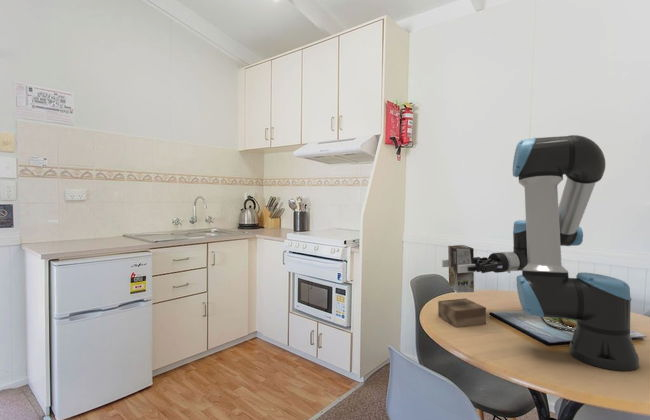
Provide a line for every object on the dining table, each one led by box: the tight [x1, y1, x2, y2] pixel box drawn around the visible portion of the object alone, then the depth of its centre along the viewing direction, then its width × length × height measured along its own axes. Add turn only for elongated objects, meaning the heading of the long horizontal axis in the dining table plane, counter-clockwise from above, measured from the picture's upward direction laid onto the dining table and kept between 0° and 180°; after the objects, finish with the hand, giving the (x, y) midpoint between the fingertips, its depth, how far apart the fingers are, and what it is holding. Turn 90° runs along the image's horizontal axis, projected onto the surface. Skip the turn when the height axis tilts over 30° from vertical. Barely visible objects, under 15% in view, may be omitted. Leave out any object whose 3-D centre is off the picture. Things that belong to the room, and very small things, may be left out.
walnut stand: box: [437, 298, 487, 328], centre depth 129 cm, size 12×12×6 cm
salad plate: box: [540, 317, 577, 332], centre depth 122 cm, size 19×18×5 cm
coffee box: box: [447, 244, 475, 294], centre depth 128 cm, size 9×6×16 cm
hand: (450, 266), depth 128 cm, fingers closed on coffee box, 10 cm apart
